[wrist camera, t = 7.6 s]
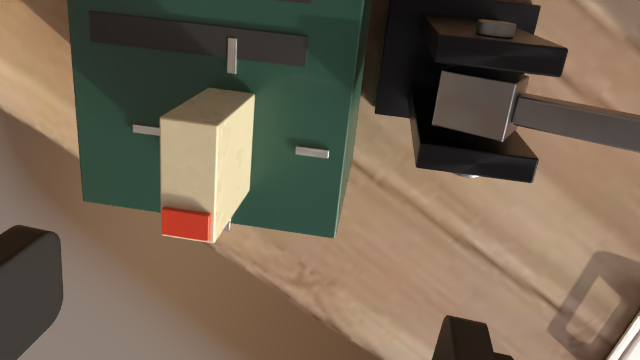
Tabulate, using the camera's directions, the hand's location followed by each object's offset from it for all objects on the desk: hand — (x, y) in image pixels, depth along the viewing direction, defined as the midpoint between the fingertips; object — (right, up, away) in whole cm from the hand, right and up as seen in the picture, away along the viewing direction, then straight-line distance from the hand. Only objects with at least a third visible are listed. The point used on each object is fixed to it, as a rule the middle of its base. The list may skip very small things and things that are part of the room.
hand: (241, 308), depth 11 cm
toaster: (-2, +10, +21) cm, 24 cm away
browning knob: (-2, +4, +12) cm, 13 cm away
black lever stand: (+9, +10, +20) cm, 24 cm away
